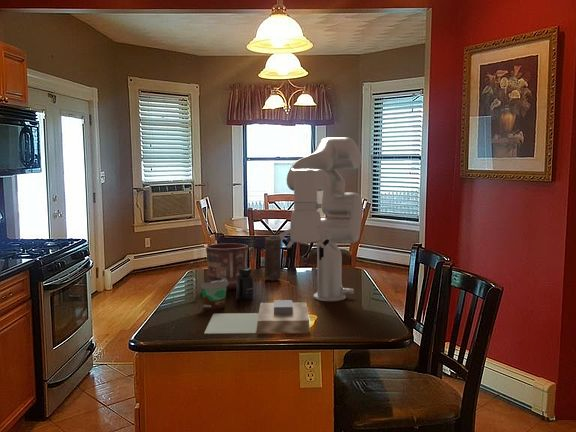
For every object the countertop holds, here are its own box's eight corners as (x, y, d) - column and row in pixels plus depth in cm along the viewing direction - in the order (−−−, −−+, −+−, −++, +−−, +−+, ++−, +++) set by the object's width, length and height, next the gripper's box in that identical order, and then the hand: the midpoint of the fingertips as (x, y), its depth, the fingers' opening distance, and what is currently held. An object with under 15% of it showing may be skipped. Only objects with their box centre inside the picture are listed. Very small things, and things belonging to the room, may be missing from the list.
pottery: (238, 293, 217) (237, 249, 216) (199, 290, 223) (199, 247, 221) (254, 284, 234) (254, 244, 232) (218, 281, 239) (217, 242, 238)
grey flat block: (292, 307, 179) (292, 300, 179) (292, 314, 170) (292, 307, 170) (274, 307, 179) (274, 300, 179) (274, 314, 170) (273, 307, 170)
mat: (259, 314, 186) (259, 313, 186) (255, 333, 164) (255, 332, 164) (213, 314, 185) (213, 313, 185) (204, 334, 164) (204, 333, 164)
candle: (284, 280, 241) (283, 236, 240) (275, 283, 235) (274, 238, 233) (270, 278, 246) (269, 235, 244) (261, 281, 239) (260, 237, 238)
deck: (306, 313, 186) (306, 302, 185) (309, 333, 164) (309, 320, 163) (260, 314, 186) (260, 302, 185) (257, 333, 164) (257, 320, 163)
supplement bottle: (251, 301, 203) (250, 270, 202) (234, 300, 205) (233, 270, 204) (256, 297, 210) (255, 267, 209) (239, 296, 211) (239, 266, 210)
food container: (214, 312, 189) (213, 284, 188) (201, 309, 192) (200, 282, 191) (235, 304, 199) (235, 278, 198) (222, 302, 202) (222, 276, 201)
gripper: (331, 206, 176) (331, 257, 177) (279, 206, 177) (280, 257, 178) (332, 208, 168) (332, 261, 170) (278, 208, 169) (278, 261, 170)
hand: (305, 259), depth 174 cm, fingers open, 9 cm apart
